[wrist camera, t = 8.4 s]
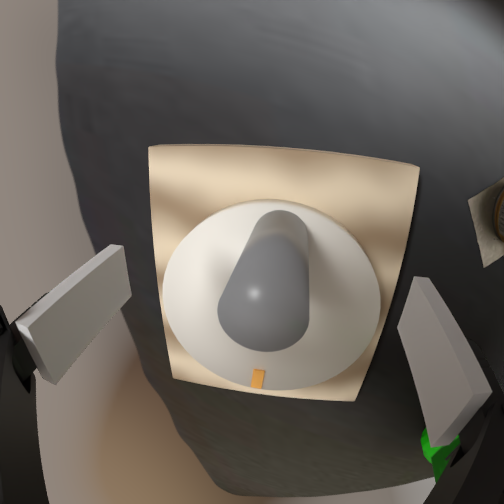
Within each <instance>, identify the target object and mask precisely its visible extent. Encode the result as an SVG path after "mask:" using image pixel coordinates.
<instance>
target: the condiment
mask: <svg viewBox="0 0 504 504" xmlns="http://www.w3.org/2000/svg"><path fill="white" fill-rule="evenodd" d="M468 203H469V207H470V212H471V215H472V219H473V222H474V227H475V231H476V235H477V239H478V243H479V247H480V252H481V257H482V261H483V266H484V267H486V266H488V265H490V264H491V263H492V262H494V261H495V260H497V259H499V258H500V257H501V256H503V255H504V178H502V179H501V180H499V181H498V182H497V183H495V184H494V185H492V186H490V187H488V188H487V189H485V190H483V191H482V192H480V193H479V194H478V195H476V196H474V197H472V198H471V199H469V200H468ZM493 238H495V240H494V239H493ZM497 239H498V240H497Z"/></svg>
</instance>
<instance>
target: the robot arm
mask: <svg viewBox="0 0 504 504" xmlns="http://www.w3.org/2000/svg"><path fill="white" fill-rule="evenodd" d="M131 296H132V295H131V289H130V284H129V278H128V272H127V266H126V260H125V253H124V246H120V245H109V246H108V247H107V248H105V249H104V250H103V251H101V252H100V253H98V254H97V255H96V256H94V257H93V258H92V259H91V260H89V261H88V262H87V263H85V264H84V265H83V266H82V267H80V268H79V269H78V270H76V271H75V272H74V273H72V274H71V275H70V276H69V277H67V278H66V279H65V280H64V281H62V282H61V283H60V284H59V285H57V286H56V287H55V288H54V289H53V290H51V291H50V292H48V293H46V294H44V295H43V296H42V297H41V298H40V299H38V301H37V302H35V303H34V304H33V305H32V306H31V307H29V308H28V309H27V310H26V311H25V312H24V313H22V314H21V315H20V316H19V317H18V318H17V319H16V320H14V321H13V322H12V323H11V324H10V325H9V323H8V321H7V318H6V316H5V313H4V311H3V308H2V307H1V305H0V504H49V501H48V496H47V491H46V487H45V481H44V476H43V470H42V463H41V457H40V448H39V440H38V429H37V414H36V379H35V375H34V373H33V371H34V370H35V369H36V368H37V369H38V371H39V372H40V374H41V376H42V378H43V379H45V380H47V381H49V382H50V383H53V384H54V385H56V384H57V383H58V382H59V380H60V379H61V378H62V377H63V375H64V374H65V373H66V372H67V370H68V369H69V368H70V367H71V365H72V364H73V363H74V362H75V361H76V359H77V358H78V357H79V356H80V354H81V353H82V352H83V351H84V350H85V349H86V347H87V346H88V345H89V344H90V342H91V341H92V340H93V339H94V338H95V337H96V335H97V334H98V333H99V332H100V331H101V330H102V329H103V327H104V326H105V325H106V324H107V323H108V322H109V320H110V319H111V318H112V317H113V316H114V315H115V314H116V312H117V311H118V310H119V309H120V308H121V307H122V306H123V305H124V304H125V302H126V301H127V300H128V299H129V298H130V297H131ZM397 329H398V332H399V335H400V338H401V341H402V344H403V347H404V350H405V353H406V356H407V359H408V362H409V365H410V369H411V372H412V375H413V379H414V382H415V386H416V389H417V393H418V396H419V400H420V404H421V408H422V412H423V416H424V420H425V424H426V428H427V432H428V437H429V442H430V446H431V448H432V447H439V446H445V445H449V444H450V443H451V442H452V441H453V440H454V439H455V438H456V437H457V436H459V439H460V444H459V445H458V446H457V447H456V448H455V449H454V450H453V451H452V452H451V453H450V454H449V455H448V456H447V457H446V458H445V460H446V461H447V460H448V459H449V458H450V457H451V458H450V460H449V462H448V464H447V466H446V467H445V469H444V471H443V473H442V474H441V476H440V478H439V479H438V481H437V483H436V484H435V486H434V488H433V489H432V491H431V492H430V494H429V496H428V497H427V499H426V500H425V502H424V503H423V504H504V394H503V392H502V390H501V387H500V385H499V383H498V381H497V379H496V377H495V375H494V373H493V371H492V369H491V367H490V368H489V364H488V362H487V360H485V356H484V354H483V352H482V351H481V349H480V347H479V346H478V345H476V344H475V343H474V342H473V341H472V340H471V339H466V338H465V336H464V334H463V333H462V331H461V329H460V327H459V326H458V324H457V322H456V321H455V319H454V317H453V315H452V314H451V312H450V310H449V309H448V307H447V306H446V304H445V302H444V301H443V299H442V298H441V296H440V294H439V293H438V291H437V290H436V288H435V287H434V285H433V284H432V282H431V281H430V279H429V278H426V277H415V276H414V278H413V281H412V284H411V288H410V291H409V294H408V297H407V300H406V303H405V306H404V309H403V312H402V315H401V318H400V321H399V324H398V326H397Z"/></svg>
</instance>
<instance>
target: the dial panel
mask: <svg viewBox="0 0 504 504" xmlns="http://www.w3.org/2000/svg"><path fill="white" fill-rule="evenodd" d="M419 170H420V167H417V166H415V165H412V164H408V163H403V162H397V161H392V160H386V159H380V158H373V157H367V156H360V155H353V154H345V153H337V152H328V151H319V150H309V149H298V148H286V147H271V146H253V145H224V144H173V145H156V146H151V147H149V180H150V201H151V217H152V230H153V242H154V253H155V262H156V271H157V280H158V288H159V296H160V303H161V310H162V317H163V324H164V330H165V336H166V342H167V348H168V353H169V359H170V364H171V369H172V374H173V378H176V379H180V380H184V381H189V382H194V383H199V384H204V385H209V386H214V387H220V388H225V389H231V390H237V391H244V392H251V393H258V394H266V395H274V396H283V397H293V398H304V399H317V400H335V401H355V399H356V397H357V394H358V392H359V390H360V387H361V385H362V383H363V380H364V378H365V375H366V373H367V370H368V368H369V365H370V363H371V360H372V357H373V355H374V352H375V349H376V346H377V344H378V341H379V338H380V335H381V332H382V329H383V326H384V323H385V320H386V317H387V314H388V311H389V307H390V304H391V301H392V297H393V294H394V290H395V287H396V283H397V280H398V276H399V272H400V268H401V264H402V260H403V256H404V252H405V248H406V243H407V239H408V234H409V229H410V224H411V219H412V214H413V208H414V203H415V197H416V191H417V184H418V177H419ZM255 199H280V200H289V201H293V202H298V203H302V204H305V205H308V206H310V207H313V208H316V209H318V210H320V211H322V212H324V213H326V214H327V215H329V216H331V217H332V218H334V219H335V220H337V221H338V222H339V223H341V224H342V225H343V226H344V227H345V228H346V229H347V230H348V231H349V232H351V233H352V234H353V235H354V237H355V238H356V239H357V241H358V242H359V243H360V245H361V246H362V248H363V249H364V251H365V253H366V255H367V257H368V259H369V261H370V263H371V265H372V268H373V270H374V273H375V275H376V278H377V281H378V285H379V291H380V308H381V309H380V315H379V321H378V324H377V328H376V331H375V333H374V335H373V337H372V339H371V341H370V343H369V345H368V346H367V348H366V349H365V351H364V352H363V353H362V354H361V355H360V357H359V358H358V359H357V360H356V361H355V362H354V363H353V364H351V365H350V366H349V367H348V368H347V369H345V370H344V371H342V372H341V373H339V374H338V375H336V376H334V377H332V378H330V379H328V380H326V381H324V382H321V383H319V384H316V385H313V386H309V387H305V388H300V389H294V390H280V391H279V390H263V389H255V388H251V387H246V386H243V385H240V384H236V383H233V382H231V381H229V380H226V379H224V378H222V377H220V376H218V375H216V374H214V373H213V372H211V371H209V370H208V369H207V368H205V367H204V366H202V365H201V364H200V363H199V362H197V361H196V360H195V359H194V358H193V357H192V356H191V355H190V354H189V353H188V352H187V351H186V350H185V349H184V348H183V346H182V345H181V344H180V342H179V341H178V340H177V338H176V336H175V335H174V333H173V331H172V329H171V327H170V325H169V322H168V320H167V317H166V313H165V310H164V304H163V280H164V274H165V271H166V268H167V265H168V262H169V260H170V258H171V256H172V254H173V252H174V250H175V249H176V248H177V246H178V245H179V244H180V242H181V241H182V240H183V239H184V238H185V237H186V236H187V235H188V234H189V233H190V232H191V231H192V230H193V229H194V228H195V227H196V226H197V225H198V224H199V223H200V222H201V221H203V220H204V219H206V218H207V217H208V216H210V215H211V214H213V213H215V212H217V211H219V210H221V209H223V208H225V207H227V206H230V205H233V204H236V203H239V202H244V201H249V200H255Z"/></svg>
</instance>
